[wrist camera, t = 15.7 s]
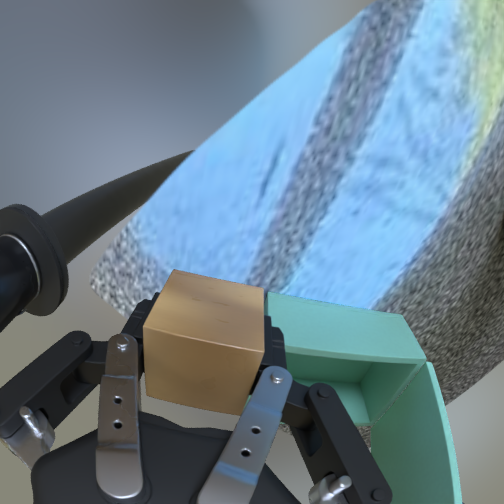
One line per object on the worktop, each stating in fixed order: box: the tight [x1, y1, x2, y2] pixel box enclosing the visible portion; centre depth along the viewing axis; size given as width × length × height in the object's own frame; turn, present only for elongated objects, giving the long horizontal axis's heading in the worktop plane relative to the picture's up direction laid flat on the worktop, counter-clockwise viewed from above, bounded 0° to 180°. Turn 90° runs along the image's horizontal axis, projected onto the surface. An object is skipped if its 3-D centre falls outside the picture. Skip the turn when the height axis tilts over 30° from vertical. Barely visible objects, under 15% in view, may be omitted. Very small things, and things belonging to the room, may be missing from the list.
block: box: [143, 269, 265, 416], centre depth 13 cm, size 4×4×4 cm
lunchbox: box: [242, 292, 427, 426], centre depth 27 cm, size 16×12×7 cm
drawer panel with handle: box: [371, 362, 464, 504], centre depth 16 cm, size 16×12×5 cm
